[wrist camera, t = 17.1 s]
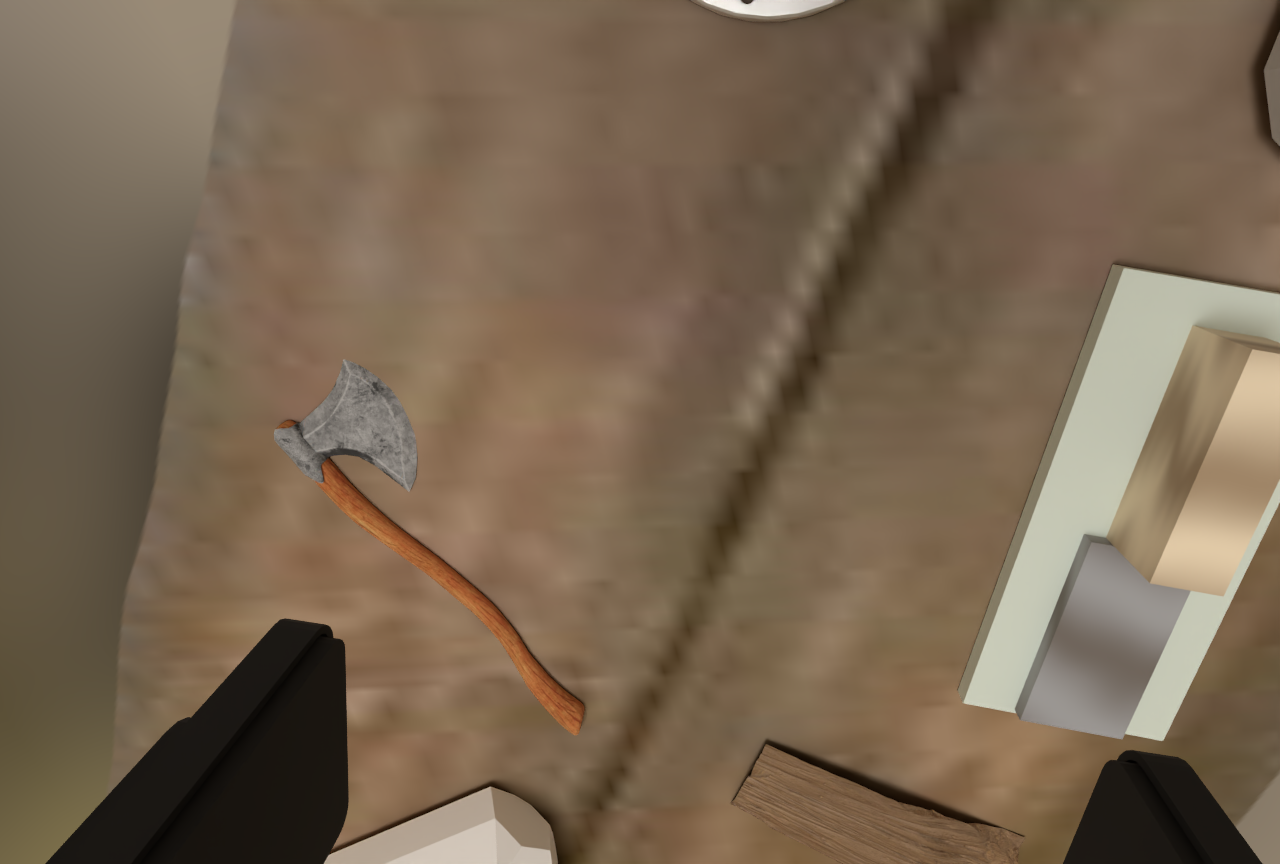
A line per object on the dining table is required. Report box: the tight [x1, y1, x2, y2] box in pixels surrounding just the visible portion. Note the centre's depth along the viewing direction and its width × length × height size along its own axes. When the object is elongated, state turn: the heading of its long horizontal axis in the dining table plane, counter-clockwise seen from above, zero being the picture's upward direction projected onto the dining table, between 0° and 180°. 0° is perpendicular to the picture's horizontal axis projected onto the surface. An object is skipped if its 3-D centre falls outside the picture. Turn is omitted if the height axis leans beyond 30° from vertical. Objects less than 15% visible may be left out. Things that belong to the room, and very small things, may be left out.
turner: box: [1015, 325, 1280, 739], centre depth 35 cm, size 20×5×4 cm, turn 171°
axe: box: [274, 360, 585, 735], centre depth 41 cm, size 22×6×2 cm, turn 41°
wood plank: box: [731, 744, 1025, 864], centre depth 44 cm, size 15×2×5 cm
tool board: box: [958, 264, 1280, 741], centre depth 37 cm, size 22×10×1 cm, turn 171°
